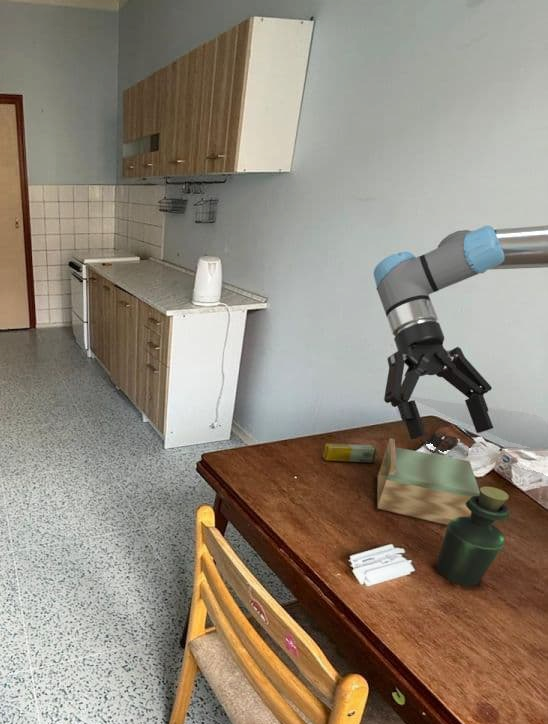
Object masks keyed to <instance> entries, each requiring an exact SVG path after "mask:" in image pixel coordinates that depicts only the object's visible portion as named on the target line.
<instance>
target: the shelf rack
mask: <svg viewBox="0 0 548 724" xmlns="http://www.w3.org/2000/svg"><path fill="white" fill-rule="evenodd" d="M376 488H377V495H376V496H377V500H376V502H377V505H376V506H377V507H376V509H379V510H383V511H387V512H391V513H396V514H400V515H404V516H408V517H413V518H416V519H421V520H425V521H429V522H434V523H438V524H442V525H446V526H448V524H449V523H450V521H452V520H453V519H455V518H458V517H471V511H470V510H469V509H468V508H467V507H466V502H467V501H468V500H469V499H470V498H471V497H473V496H479V494H480V488H479V486H478V482H477V479H476V476H475V474H474V470H473V467H472V463H471V461H470V460H467V459H461V458H457V457H450V456H445V455H441V454H434V453H428V452H423V451H417V450H412V449H407V448H401V447H397V446H396V440H395V438H391V437H390V438H389V439H388V443H387V446H386V449H385V453H384V456H383V459H382V462H381V465H380V469H379V471H378V475H377V487H376Z"/></svg>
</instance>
